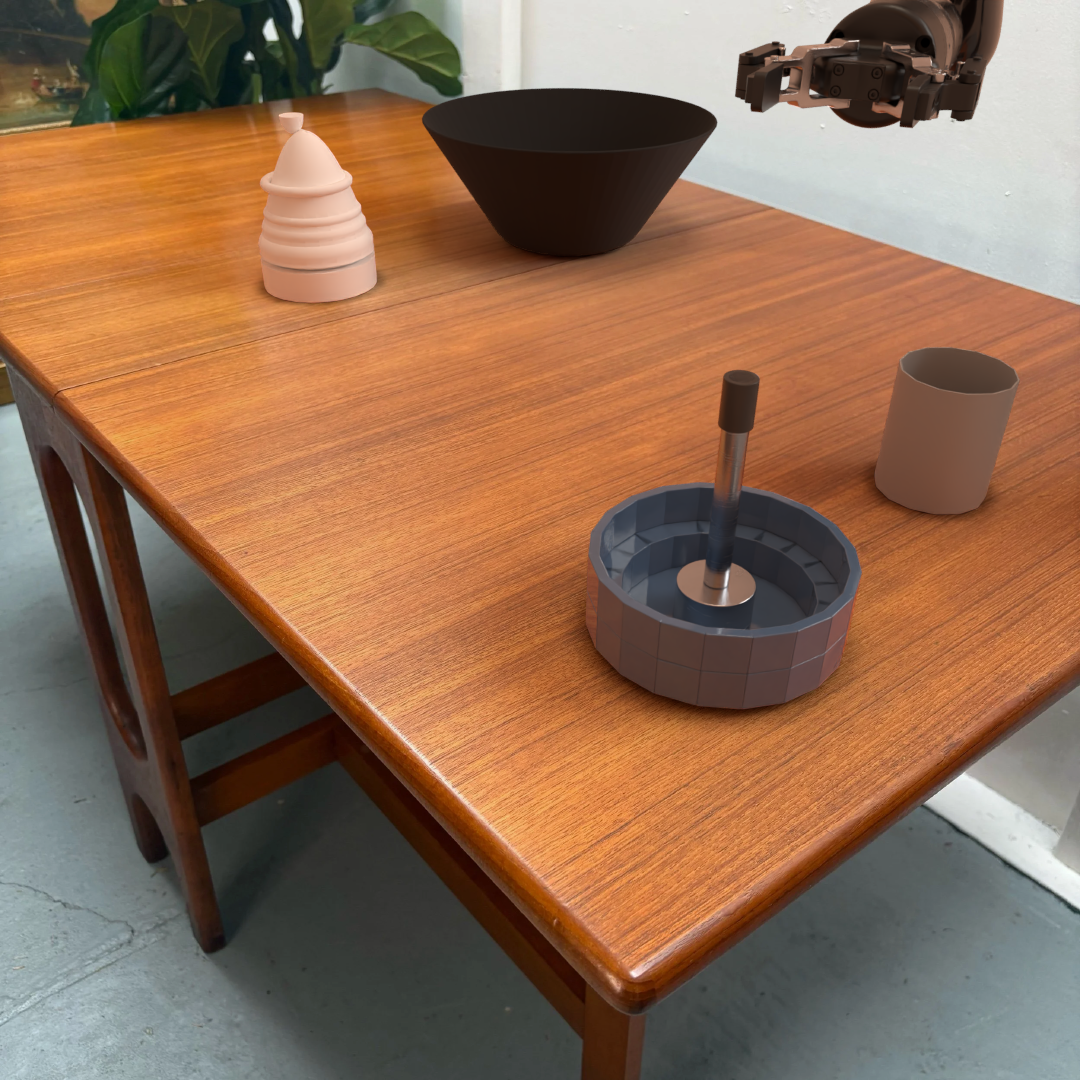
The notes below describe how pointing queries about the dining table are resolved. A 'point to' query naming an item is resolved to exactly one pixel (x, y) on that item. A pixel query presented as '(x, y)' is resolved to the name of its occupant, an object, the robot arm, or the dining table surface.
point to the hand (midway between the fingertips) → (831, 100)
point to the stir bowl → (706, 652)
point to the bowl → (568, 161)
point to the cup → (944, 429)
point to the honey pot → (313, 224)
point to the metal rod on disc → (723, 521)
